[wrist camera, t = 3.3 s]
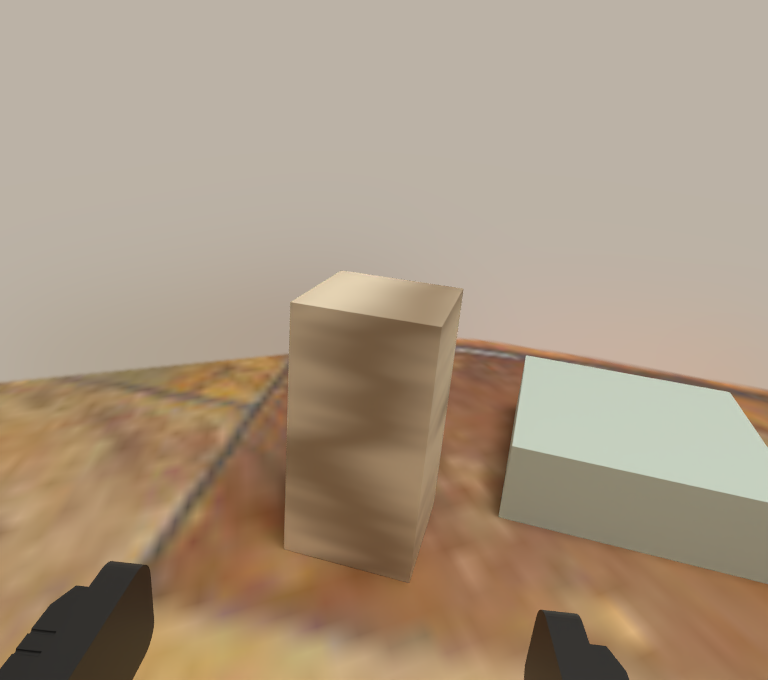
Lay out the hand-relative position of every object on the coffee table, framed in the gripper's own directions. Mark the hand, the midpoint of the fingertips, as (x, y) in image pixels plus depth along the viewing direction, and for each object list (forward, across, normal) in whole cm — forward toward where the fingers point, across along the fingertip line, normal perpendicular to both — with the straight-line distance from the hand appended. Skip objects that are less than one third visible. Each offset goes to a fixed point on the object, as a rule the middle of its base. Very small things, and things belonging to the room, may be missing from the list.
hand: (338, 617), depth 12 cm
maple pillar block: (+10, 0, +6) cm, 12 cm away
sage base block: (+16, -12, +6) cm, 21 cm away
